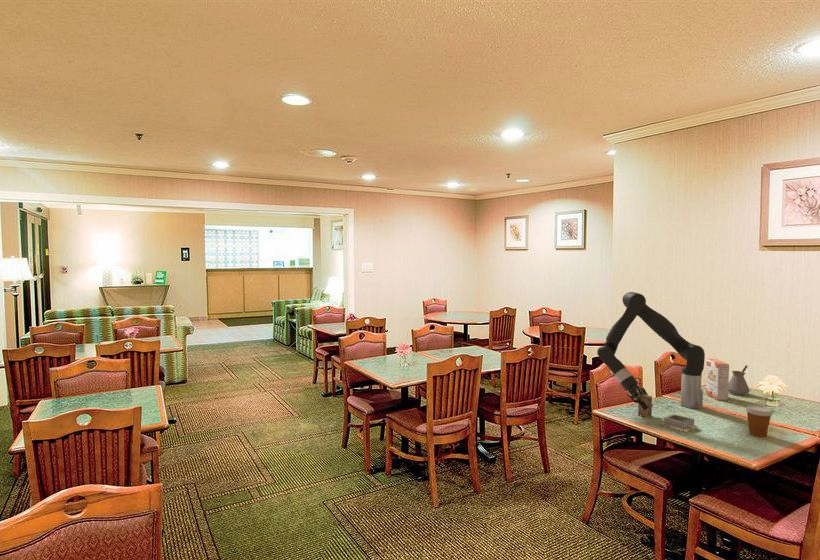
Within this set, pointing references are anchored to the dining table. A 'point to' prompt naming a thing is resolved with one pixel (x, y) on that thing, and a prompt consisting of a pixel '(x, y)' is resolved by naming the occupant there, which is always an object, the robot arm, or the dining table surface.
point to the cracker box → (717, 379)
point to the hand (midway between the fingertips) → (648, 408)
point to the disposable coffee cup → (758, 420)
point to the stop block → (648, 402)
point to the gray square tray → (679, 422)
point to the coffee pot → (738, 383)
